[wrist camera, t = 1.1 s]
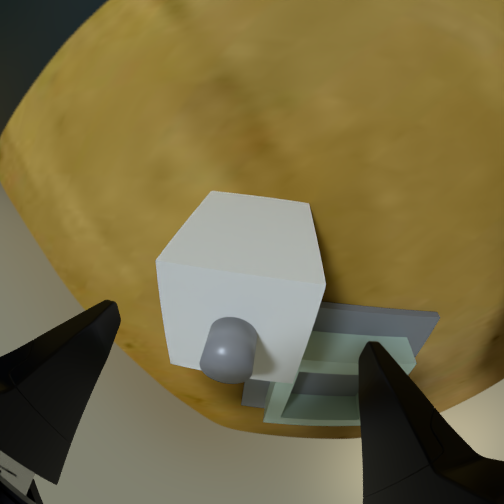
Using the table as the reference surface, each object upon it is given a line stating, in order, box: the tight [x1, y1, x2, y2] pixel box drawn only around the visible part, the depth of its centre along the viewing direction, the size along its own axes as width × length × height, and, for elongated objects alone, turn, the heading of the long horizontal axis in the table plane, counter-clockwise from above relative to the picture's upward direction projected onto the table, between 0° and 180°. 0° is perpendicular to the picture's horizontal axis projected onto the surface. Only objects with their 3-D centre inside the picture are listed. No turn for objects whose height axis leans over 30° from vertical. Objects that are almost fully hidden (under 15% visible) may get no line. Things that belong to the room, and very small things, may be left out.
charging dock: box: [241, 302, 440, 426], centre depth 18 cm, size 13×13×3 cm
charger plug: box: [156, 191, 326, 384], centre depth 11 cm, size 5×5×8 cm
